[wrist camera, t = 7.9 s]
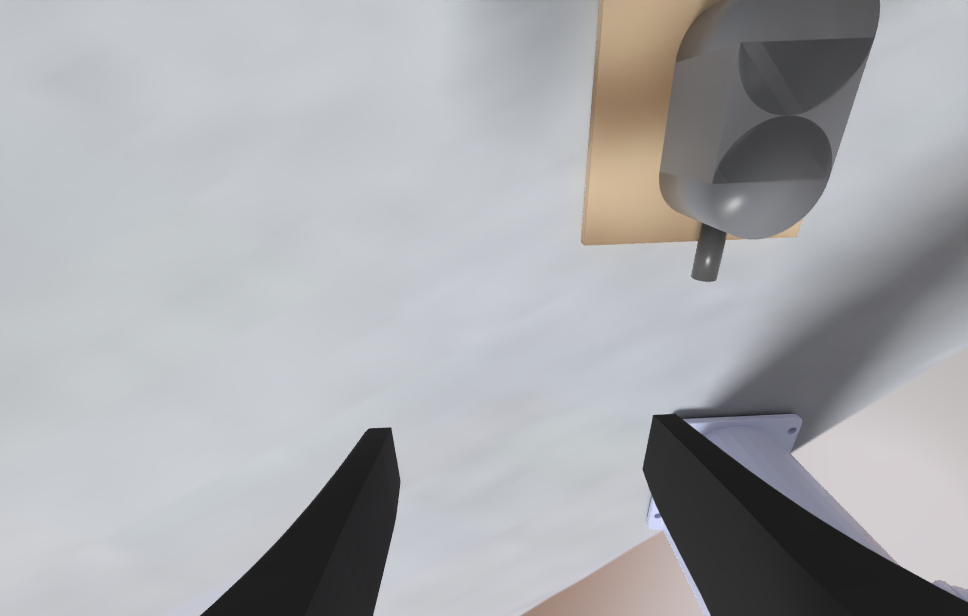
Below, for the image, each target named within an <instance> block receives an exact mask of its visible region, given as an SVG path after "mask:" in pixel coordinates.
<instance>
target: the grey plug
mask: <svg viewBox="0 0 968 616" xmlns="http://www.w3.org/2000/svg"><path fill="white" fill-rule="evenodd" d="M879 13H880V0H721V1H719V2H717V3H716V4H714V5H712V6H710V7H709V8H708V9H706V10H705V11H704V12H703V13H702V14H701V15H700V16H699V17H698V18H697V19H696V20H695V21H694V22H693V23H692V25H691V26H690V28H689V29H688V30H687V32H686V34H685V36H684V38H683V39H682V42H681V44H680V47H679V50H678V53H677V57H676V62H675V68H674V75H673V82H672V89H671V95H670V102H669V109H668V116H667V123H666V130H665V137H664V143H663V150H662V157H661V164H660V171H659V186H660V191H661V194H662V196H663V198H664V200H665V202H666V203H667V204H668V205H669V206H670V207H671V208H672V209H673V210H674V211H676V212H678V213H680V214H682V215H685V216H687V217H690V218H692V219H694V220H697V221H699V222H702V225H701V230H700V235H699V239H698V244H697V249H696V254H695V259H694V264H693V269H692V274H691V277H692V278H693V279H696V280H699V281H705V282H711V281H715V280H717V275H718V271H719V267H720V262H721V258H722V254H723V249H724V245H725V241H726V236H727V233H728V234H731V235H733V236H736V237H739V238H743V239H763V238H767V237H771V236H774V235H777V234H779V233H781V232H783V231H785V230H787V229H789V228H790V227H792V226H793V225H795V224H796V223H797V222H799V221H800V220H801V219H802V218H803V217H804V216H806V214H807V213H808V212H809V211H810V210H811V209H812V208H813V207H814V205H815V204H816V203H817V201H818V200H819V198H820V197H821V195H822V193H823V191H824V189H825V187H826V185H827V182H828V180H829V177H830V174H831V170H832V167H833V164H834V161H835V158H836V155H837V152H838V149H839V146H840V143H841V140H842V136H843V133H844V130H845V127H846V124H847V121H848V118H849V115H850V112H851V109H852V106H853V103H854V99H855V96H856V93H857V90H858V87H859V84H860V81H861V78H862V75H863V72H864V69H865V66H866V62H867V59H868V56H869V53H870V50H871V47H872V44H873V41H874V38H875V34H876V30H877V27H878V21H879Z"/></svg>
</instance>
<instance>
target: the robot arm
mask: <svg viewBox="0 0 968 616" xmlns="http://www.w3.org/2000/svg"><path fill="white" fill-rule="evenodd" d="M802 422H803V421H802V419H801V418H800V417H799V416H798V415H796V414H779V415H758V416H737V417H716V418H695V419H681V418H680V417H679V416H677V415H676V414H665V415H653V419H652V424H651V429H650V434H649V439H648V444H647V449H646V455H645V460H644V465H643V472H644V475H645V478H646V480H647V483H648V486H649V489H650V492H651V494H652V498H651V503H650V508H649V512H648V517H647V521H646V522H647V525H648V527H649V529H651V530H664V532H665V534H666V536H667V539H668V541H669V543H670V545H671V547H672V549H673V551H674V553H675V555H676V557H677V559H678V561H679V563H680V566H681V568H682V569H683V572H684V574H685V576H686V578H687V580H688V582H689V584H690V586H691V589H692V591H693V593H694V595H695V597H696V599H697V601H698V603H699V605H700V607H701V609H702V612H703V614H704V616H968V590H967V589H964V588H961V587H957V586H950V585H949V584H947V583H946V582H944V581H941V580H937V581H935V582H933V583H930V582H928V581H926V580H924V579H922V578H921V577H919V576H917V575H915V574H913V573H912V572H910V571H908V570H906V569H904V568H903V567H901V566H900V565H899V564H898V563H897V562H896V561H895V560H894V559H893V558H892V557H891V556H890V555H889V554H888V553H887V552H886V551H885V550H884V549H883V548H882V547H881V546H880V545H879V544H878V543H877V542H876V541H875V540H874V539H873V538H872V537H871V536H870V535H869V534H868V533H867V531H866V530H865V529H864V528H863V527H862V526H860V524H859V523H858V522H857V521H856V520H855V519H854V518H853V517H852V516H851V515H850V514H849V513H848V512H847V511H846V510H845V509H844V508H843V507H842V506H841V505H840V504H839V503H838V502H837V501H836V500H835V499H834V498H833V497H832V496H831V495H830V494H829V493H828V492H827V491H826V490H825V489H824V488H823V487H822V486H821V485H820V484H819V483H818V481H816V480H815V479H814V477H813V476H811V474H810V473H809V472H808V471H807V470H806V469H805V468H804V467H803V466H802V465H801V464H800V463H799V462H798V461H797V460H796V459H795V458H794V457H793V456H792V455H791V454H790V453H791V450H792V448H793V445H794V443H795V440H796V438H797V435H798V433H799V431H800V428H801V426H802ZM399 489H400V476H399V470H398V464H397V459H396V453H395V447H394V441H393V435H392V429H391V428H370V429H368V430H367V431H366V432H365V433H364V435H363V436H362V437H361V439H360V440H359V442H358V443H357V444H356V446H355V447H354V448H353V450H352V451H351V453H350V454H349V455H348V457H347V458H346V459H345V461H344V462H343V463H342V465H341V466H340V467H339V469H338V470H337V471H336V472H335V474H334V475H333V476H332V478H331V479H330V480H329V481H328V483H327V484H326V485H325V486H324V488H323V489H322V490H321V491H320V493H319V494H318V495H317V496H316V498H315V499H314V500H313V501H312V502H311V504H310V505H309V506H308V507H307V508H306V509H305V510H304V512H303V513H302V514H301V515H300V516H299V517H298V519H297V520H296V521H295V522H294V523H293V524H292V525H291V527H290V528H289V529H288V530H287V531H286V532H285V533H284V534H283V535H282V536H281V538H280V539H279V540H278V541H277V542H276V543H275V544H274V545H273V546H272V547H271V548H270V549H269V550H268V551H267V552H266V553H265V554H264V555H263V556H262V557H261V558H260V559H259V560H258V562H257V563H256V564H255V565H254V566H253V567H252V568H251V569H250V570H249V571H248V572H247V573H245V574H244V575H243V576H242V577H241V578H240V579H239V580H238V581H237V582H236V583H235V584H234V585H233V586H232V587H231V588H230V589H229V590H228V591H226V592H225V593H224V594H223V595H222V596H221V597H220V598H219V599H218V600H217V601H216V602H215V603H214V604H213V605H211V606H210V607H209V608H208V609H207V610H206V611H205V612H204V613H203V614H201V615H200V616H373V613H374V609H375V605H376V601H377V597H378V592H379V588H380V584H381V580H382V576H383V572H384V567H385V563H386V559H387V555H388V551H389V546H390V542H391V538H392V534H393V529H394V525H395V520H396V513H397V506H398V498H399Z"/></svg>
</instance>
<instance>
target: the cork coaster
mask: <svg viewBox="0 0 968 616" xmlns="http://www.w3.org/2000/svg"><path fill="white" fill-rule="evenodd" d="M719 1H721V0H599V13H598V26H597V39H596V52H595V66H594V79H593V92H592V105H591V118H590V131H589V144H588V157H587V170H586V183H585V196H584V210H583V223H582V236H581V243H582V244H583V245H609V244H634V243H659V242H684V241H698V239H699V235H700V230H701V225H702V222H699V221H697V220H694V219H692V218H690V217H687V216H685V215H682V214H680V213H678V212H676V211H674V210H673V209H672V208H671V207H670V206H669V205H668V204H667V203H666V202H665V200H664V198H663V196H662V194H661V191H660V186H659V171H660V164H661V157H662V150H663V143H664V137H665V130H666V123H667V116H668V109H669V102H670V95H671V89H672V82H673V75H674V68H675V62H676V57H677V53H678V50H679V47H680V44H681V42H682V39H683V38H684V36H685V34H686V32H687V30H688V29H689V28H690V26H691V25H692V23H693V22H694V21H695V20H696V19H697V18H698V17H699V16H700V15H701V14H702V13H703V12H704V11H705V10H706V9H708V8H709V7H710V6H712V5H714V4H716V3H717V2H719ZM802 219H803V218H802ZM802 219H801V220H800V221H799V222H797V223H796V224H795V225H793V226H792V227H790V228H789V229H787V230H785V231H783V232H781V233H779V234H777V235H774V236H771V237H767V238H784V237H797V235H798V231H799V228H800V225H801V222H802ZM734 239H743V238H739V237H736V236H733V235H731V234H728V233H727V236H726V240H734Z"/></svg>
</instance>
